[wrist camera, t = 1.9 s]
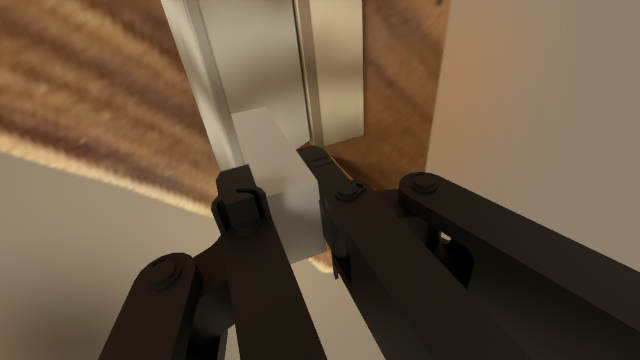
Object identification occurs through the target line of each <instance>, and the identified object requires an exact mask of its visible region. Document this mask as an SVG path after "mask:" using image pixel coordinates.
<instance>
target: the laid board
mask: <svg viewBox="0 0 640 360" xmlns="http://www.w3.org/2000/svg"><path fill="white" fill-rule="evenodd" d="M292 6H293V14H294V22H295V29H296V37H297V44H298V52H299V60H300V67H301V75H302V82H303V90H304V98H305V105H306V113H307V120H308V128H309V136H310V140H309V141H308V142H309V143H310V144H311V145H315V146H317V147H319V148H322V147H324V146H327V145H331V144H334V143H338V142H341V141H345V140H348V139H352V138H356V137H359V136H363V135H364V112H363V42H362V0H292Z"/></svg>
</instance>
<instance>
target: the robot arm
mask: <svg viewBox="0 0 640 360" xmlns="http://www.w3.org/2000/svg"><path fill="white" fill-rule="evenodd" d="M231 116H232V119H233V123H234V126H235V130H236V133H237V137H238V140H239V143H240V147H241V150H242V154H243V157H244V161H245V164H246V165H243V166H239V167H235V168H232V169H228V170H224V171H221V172H220V174H219V176H218V177H217V179H216V185H217V190H218V196H217V197H216V199H215V200H214V201H213V202H212V206H211V211H212V213H213V216H214V218H215V221H216V223H217V226H218V228H219V231H220V233H221V236H220V237H219V238H218V240H217V241H216V242H215V243H214V244H213V245H212V246H211V247H209V248H208V249H206V250H205V251H203V252H202V253H200V254H198V255H197V256H195V257H193V258H192V257H191V256H190V255H188V254H185V253H171V254H168V255H164V256H161V257H160V258H158V259H156V260H154V261H152V262H151V263H149V264H148V265H147V266H146V267H145V268H144V269H143V270H142V271H141V272H140V273H139V275H138V276H137V278H136V279H135V281H134V283H133V285H132V287H131V289H130V291H129V294H128V296H127V298H126V300H125V302H124V304H123V307H122V309H121V311H120V313H119V315H118V317H117V319H116V322H115V324H114V326H113V328H112V330H111V333H110V335H109V337H108V339H107V341H106V343H105V346H104V348H103V350H102V352H101V354H100V356H99V359H98V360H224V358H225V350H226V343H227V342H226V341H227V335H228V328H230V327H231V326H232V325H234V324H235V328H236V334H237V340H238V347H239V353H240V360H327V357H326V355H325V352H324V350H323V347H322V344H321V342H320V340H319V337H318V334H317V332H316V329H315V327H314V324H313V321H312V319H311V316H310V314H309V311H308V309H307V306H306V304H305V301H304V299H303V296H302V293H301V291H300V288H299V286H298V283H297V281H296V278H295V276H294V273H293V270H292V268H291V266H290V264H293V263H296V262H298V261H301V260H304V259H306V258H309V257H312V256H315V255H317V254H320V253H323V252H325V251H327V249H326V242H327V244H328V245H329V247H330V249H331V254H332V263H333V271H334V276H335V279H338V273H339V275H340V276H341V278H342V280H343V282H344V284H345V286H346V288H347V289H348V291H349V293H350V295H351V297H352V299H353V300H354V302H355V304H356V306H357V308H358V310H359V311H360V313H361V315H362V317H363V319H364V321H365V322H366V324H367V326H368V328H369V330H370V332H371V333H372V335H373V337H374V339H375V341H376V343H377V344H378V346H379V348H380V350H381V352H382V354H383V356H384V357H385V359H386V360H640V272H638V271H636V270H634V269H632V268H630V267H628V266H626V265H624V264H622V263H619V262H617V261H615V260H613V259H611V258H609V257H607V256H605V255H603V254H601V253H598V252H597V251H594V250H592V249H590V248H588V247H586V246H584V245H582V244H580V243H578V242H575V241H574V240H571V239H569V238H567V237H565V236H563V235H561V234H559V233H557V232H555V231H553V230H551V229H548V228H546V227H544V226H542V225H540V224H538V223H536V222H534V221H532V220H530V219H528V218H526V217H524V216H521V215H519V214H517V213H515V212H513V211H511V210H509V209H507V208H505V207H503V206H500V205H499V204H496V203H494V202H492V201H490V200H488V199H486V198H484V197H482V196H480V195H478V194H476V193H474V192H471V191H469V190H467V189H465V188H463V187H461V186H459V185H457V184H455V183H452V182H450V181H449V180H446V179H444V178H442V177H440V176H438V175H435V174H432V173H425V172H417V173H411V174H408V175H405V176H404V177H403V178H402V179H401V180H400V183H399V189H392V190H379V191H374V190H372V189H371V188H370V187H369V186H368V185H367V184H365V183H364V182H361V181H358V180H350V179H349V177H348V176H347V175H346V174H345V173H344V172H343V171H342V170H341V168H340V167H339V166H338V165H337V164H336V163H334V160H333V159H332V158H331V157H329V155H328V154H327V153H326V151H325V150H324V149H322V148H319V147H317V146H315V145H312V146H308V147H305V148H301V149H297V150H295V148H294V147H293V146H292V144H291V143H290V141H289V140H288V138H287V137H286V136H285V134H284V133H283V131H282V130H281V129H280V127H279V126H278V124H277V123H276V121H275V120H274V119H273V117H272V116H271V114H270V113H269V111H268V110H267V109H266V107H261V108H256V109H252V110H248V111H243V112H239V113H235V114H231ZM442 232H443V233H444V234H446V235H448V236H449V237H451V240H446V239H444V238H442V237H441V233H442ZM325 240H326V242H325Z"/></svg>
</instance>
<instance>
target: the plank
mask: <svg viewBox="0 0 640 360" xmlns="http://www.w3.org/2000/svg"><path fill="white" fill-rule="evenodd" d="M161 3H162V5H163V8H164V11H165V14H166V17H167V20H168V23H169V25H170V28H171V31H172V34H173V37H174V40H175V43H176V45H177V48H178V51H179V54H180V57H181V60H182V63H183V65H184V68H185V71H186V74H187V77H188V80H189V83H190V85H191V88H192V91H193V94H194V97H195V100H196V103H197V105H198V108H199V111H200V114H201V117H202V120H203V123H204V125H205V128H206V131H207V134H208V137H209V140H210V143H211V145H212V148H213V151H214V154H215V157H216V160H217V163H218V165H219V168H220V171H224V170H228V169H232V168H235V167H239V166H243V165H246V164H245V161H244V157H243V154H242V150H241V147H240V143H239V140H238V137H237V133H236V130H235V126H234V123H233V119H232V116H231V114H235V113H239V112H243V111H248V110H252V109H256V108H261V107H266V109H267V110H268V111H269V113H270V114H271V116H272V117H273V119H274V120H275V121H276V123H277V124H278V126H279V127H280V129H281V130H282V131H283V133H284V134H285V136H286V137H287V138H288V140H289V141H290V143H291V144H292V146H293V147H294V148H295V150H296V149H298V148H299V147H301V146H302V145H304V144H305V143H306V142H308V141H309V140H310V136H309V128H308V120H307V113H306V105H305V98H304V90H303V82H302V75H301V67H300V60H299V52H298V44H297V37H296V29H295V22H294V14H293V6H292V0H161Z"/></svg>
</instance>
